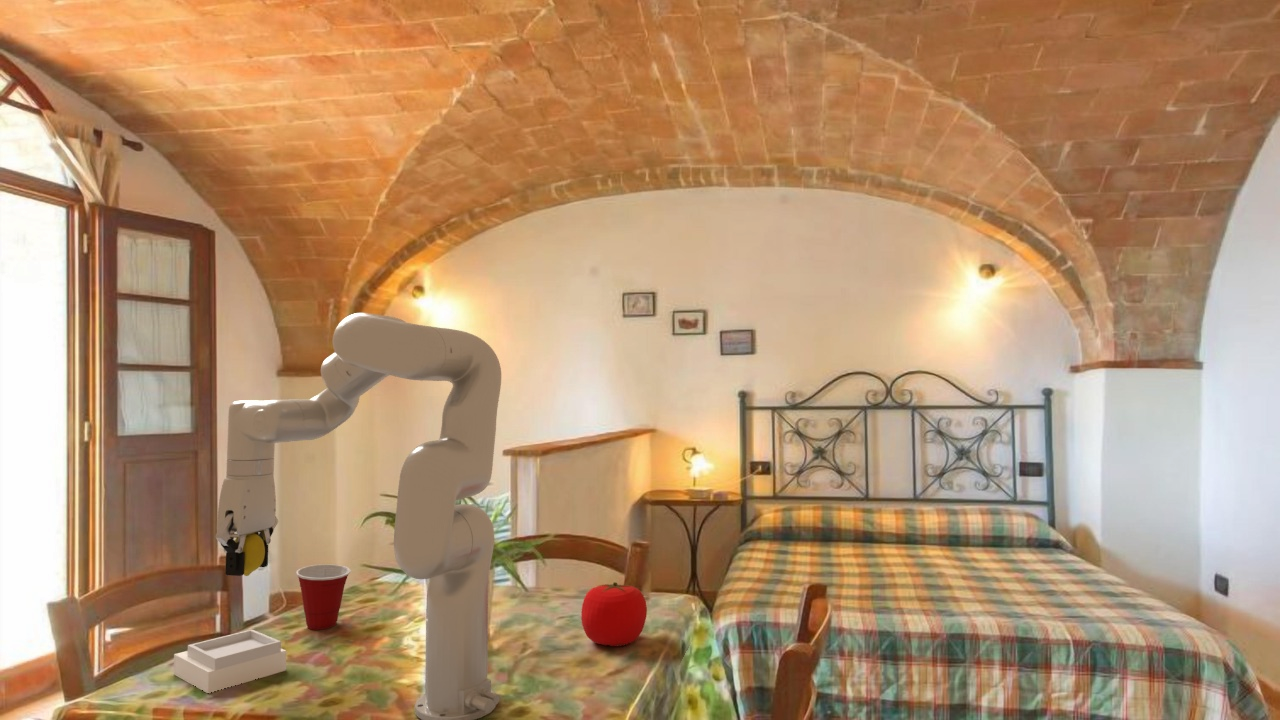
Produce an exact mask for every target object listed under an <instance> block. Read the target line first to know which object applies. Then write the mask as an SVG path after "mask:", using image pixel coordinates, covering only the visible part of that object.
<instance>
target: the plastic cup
mask: <svg viewBox="0 0 1280 720" xmlns="http://www.w3.org/2000/svg"><path fill="white" fill-rule="evenodd" d="M351 571H352V570H351V568H350V567H348V566H346V565H339V564H332V563H331V564H329V563H326V564H325V563H324V564H323V563H322V564H312V565H307V566H304V567H301V568H299V569H297V570H295V572H296V576H297V578H298V582H299V587H300V591H301V592H300V593H301V599H302V607H303V612H304V615H305V624H306V626H307V628H308V629H310V630H313V631H315V630H316V631H317V630H326V629H330V627H331V628H333V627H335V626H336V625H337V622H338V619H339V614H340V609H341V604H342V600H343V595H344V589H345V585H346V582H347V579H348V576H349V574H350V573H351Z"/></svg>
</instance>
